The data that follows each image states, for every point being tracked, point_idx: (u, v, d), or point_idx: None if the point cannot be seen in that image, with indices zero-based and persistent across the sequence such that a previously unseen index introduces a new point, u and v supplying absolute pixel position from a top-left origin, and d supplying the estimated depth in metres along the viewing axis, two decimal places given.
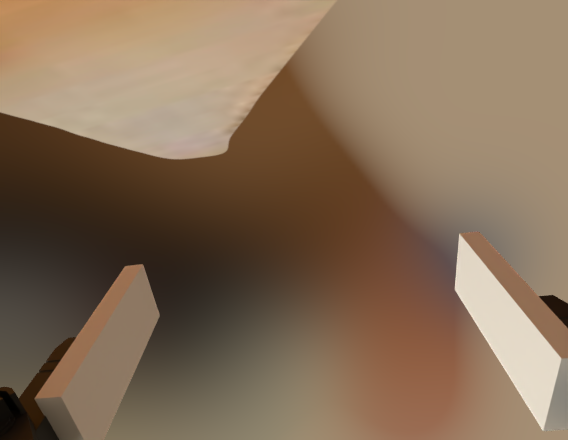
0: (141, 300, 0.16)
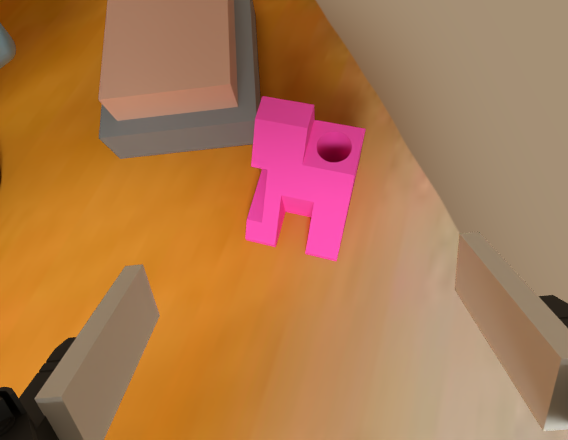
0: (141, 300, 0.16)
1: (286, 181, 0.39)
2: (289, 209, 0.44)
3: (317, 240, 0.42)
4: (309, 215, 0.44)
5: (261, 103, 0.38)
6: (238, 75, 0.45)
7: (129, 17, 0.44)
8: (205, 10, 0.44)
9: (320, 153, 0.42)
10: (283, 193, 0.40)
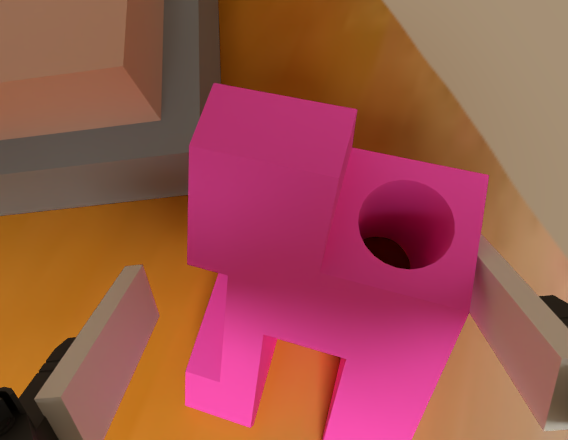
0: (141, 300, 0.16)
1: (276, 306, 0.15)
2: None
3: (350, 435, 0.17)
4: None
5: (209, 103, 0.14)
6: (165, 52, 0.21)
7: None
8: None
9: (360, 223, 0.18)
10: (269, 331, 0.16)
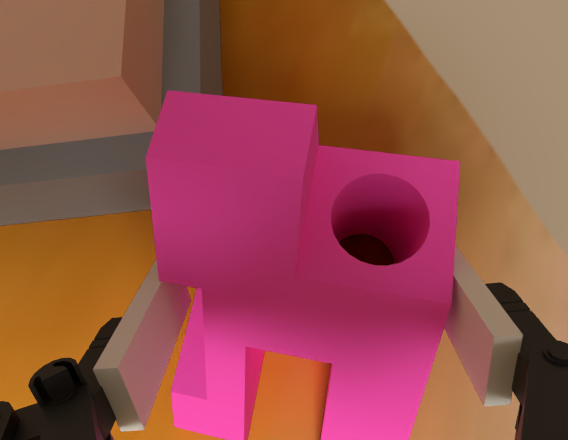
0: (176, 284, 0.17)
1: (255, 316, 0.15)
2: None
3: None
4: None
5: (164, 111, 0.13)
6: (165, 60, 0.21)
7: None
8: None
9: (336, 222, 0.17)
10: (250, 342, 0.15)
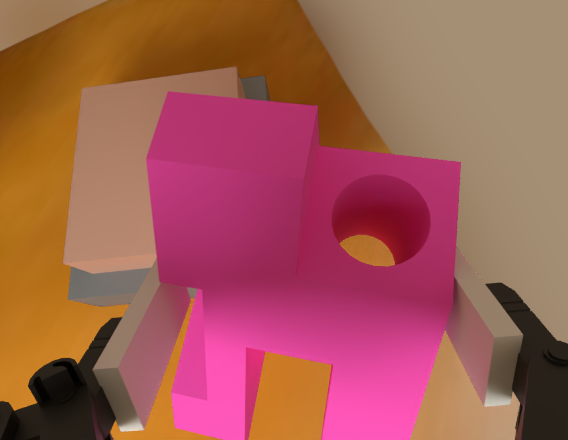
0: None
1: (256, 317, 0.15)
2: None
3: None
4: None
5: (165, 112, 0.13)
6: None
7: (107, 137, 0.33)
8: None
9: (337, 222, 0.17)
10: (251, 343, 0.15)
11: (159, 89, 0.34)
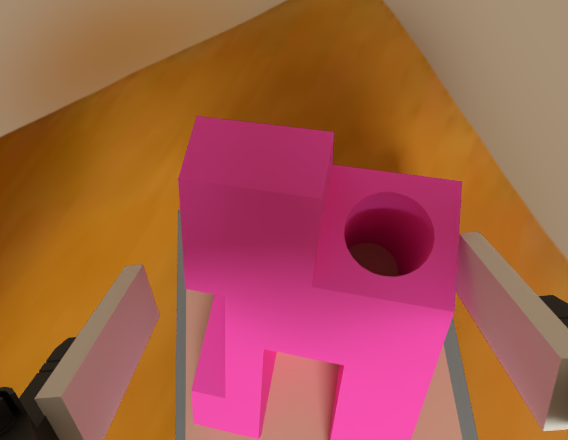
0: (141, 300, 0.16)
1: (274, 321, 0.16)
2: None
3: (354, 437, 0.18)
4: None
5: (194, 136, 0.14)
6: None
7: None
8: None
9: (346, 233, 0.19)
10: (268, 345, 0.17)
11: None
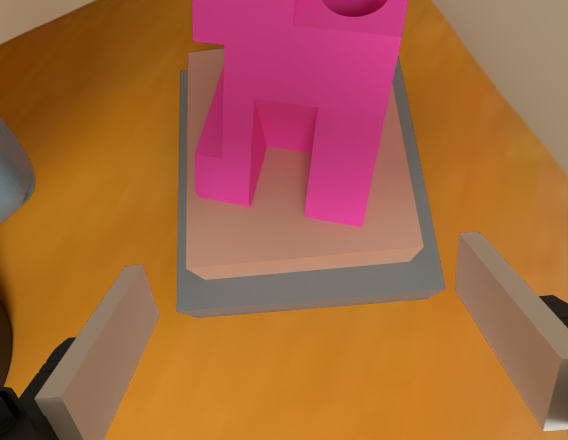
0: (141, 300, 0.16)
1: (262, 67, 0.20)
2: (273, 138, 0.25)
3: (326, 187, 0.22)
4: (309, 148, 0.25)
5: None
6: None
7: None
8: None
9: None
10: (258, 94, 0.21)
11: None
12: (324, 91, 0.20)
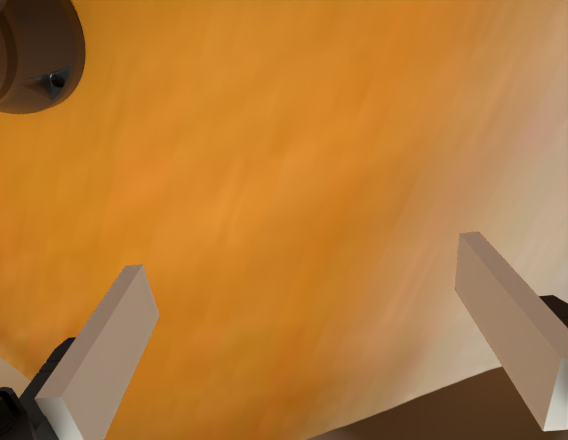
0: (141, 300, 0.16)
1: None
2: None
3: None
4: None
5: None
6: None
7: None
8: None
9: None
10: None
11: None
12: None
